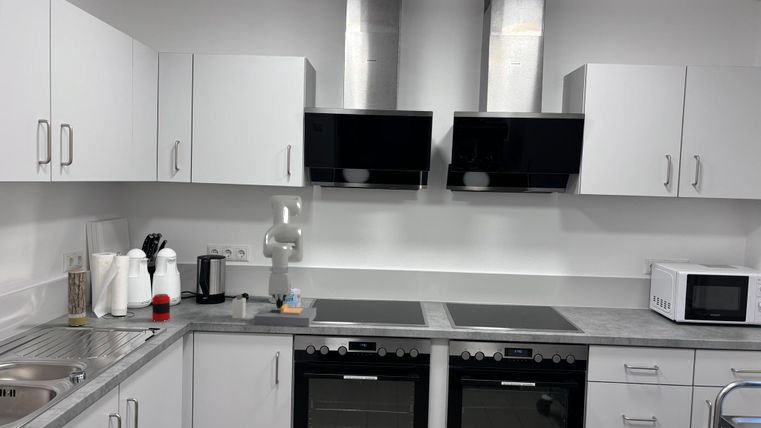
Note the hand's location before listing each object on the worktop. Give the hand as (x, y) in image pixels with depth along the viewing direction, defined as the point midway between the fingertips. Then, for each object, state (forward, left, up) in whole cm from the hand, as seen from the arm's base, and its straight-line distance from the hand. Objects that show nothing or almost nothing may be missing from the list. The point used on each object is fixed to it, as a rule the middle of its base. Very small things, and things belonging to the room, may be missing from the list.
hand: (279, 307), depth 252 cm
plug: (-2, -21, -6) cm, 22 cm away
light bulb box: (-20, 0, -6) cm, 21 cm away
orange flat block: (0, +6, -2) cm, 6 cm away
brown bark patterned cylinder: (+23, -87, -6) cm, 90 cm away
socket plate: (0, +3, -6) cm, 7 cm away
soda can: (+9, -55, -6) cm, 56 cm away
